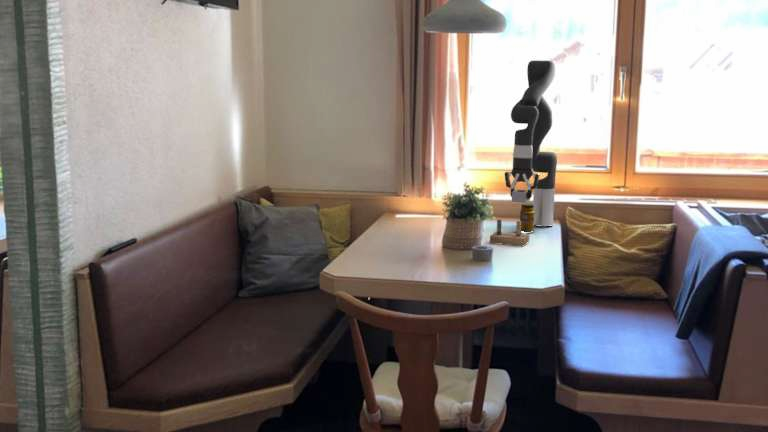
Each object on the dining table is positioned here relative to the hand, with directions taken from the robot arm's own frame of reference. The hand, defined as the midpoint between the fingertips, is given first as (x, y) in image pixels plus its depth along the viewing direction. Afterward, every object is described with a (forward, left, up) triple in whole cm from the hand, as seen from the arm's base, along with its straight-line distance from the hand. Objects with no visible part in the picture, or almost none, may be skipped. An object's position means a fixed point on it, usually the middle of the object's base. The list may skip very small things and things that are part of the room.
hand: (520, 198), depth 321 cm
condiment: (-24, -3, -19) cm, 30 cm away
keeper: (0, -4, -18) cm, 19 cm away
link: (0, 0, -1) cm, 1 cm away
